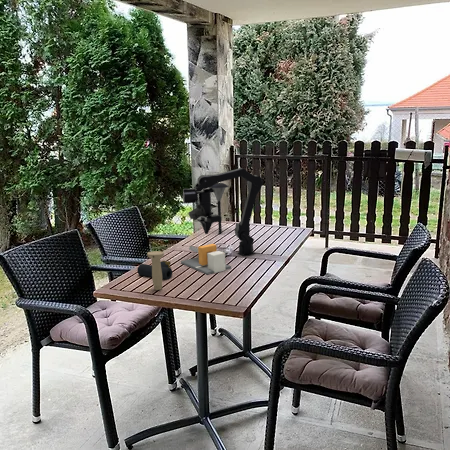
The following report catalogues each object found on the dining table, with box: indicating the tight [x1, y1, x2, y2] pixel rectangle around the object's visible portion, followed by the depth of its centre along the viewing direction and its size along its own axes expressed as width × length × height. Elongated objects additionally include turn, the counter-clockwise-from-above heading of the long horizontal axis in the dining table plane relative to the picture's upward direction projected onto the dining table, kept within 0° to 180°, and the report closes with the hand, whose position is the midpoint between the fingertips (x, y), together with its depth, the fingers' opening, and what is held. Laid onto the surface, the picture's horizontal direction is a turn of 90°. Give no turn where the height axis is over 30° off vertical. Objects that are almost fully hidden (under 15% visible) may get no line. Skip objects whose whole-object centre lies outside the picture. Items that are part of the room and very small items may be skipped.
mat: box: [180, 256, 232, 275], centre depth 205 cm, size 13×22×1 cm, turn 36°
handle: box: [147, 250, 165, 291], centre depth 177 cm, size 5×6×15 cm
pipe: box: [188, 245, 209, 254], centre depth 205 cm, size 2×21×2 cm, turn 37°
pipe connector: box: [137, 260, 173, 280], centre depth 196 cm, size 12×5×15 cm
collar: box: [197, 243, 218, 265], centre depth 202 cm, size 8×3×8 cm, turn 126°
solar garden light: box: [208, 182, 230, 235], centre depth 261 cm, size 12×12×30 cm
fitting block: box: [207, 250, 226, 274], centre depth 197 cm, size 6×5×8 cm
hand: (206, 233), depth 215 cm, fingers closed
